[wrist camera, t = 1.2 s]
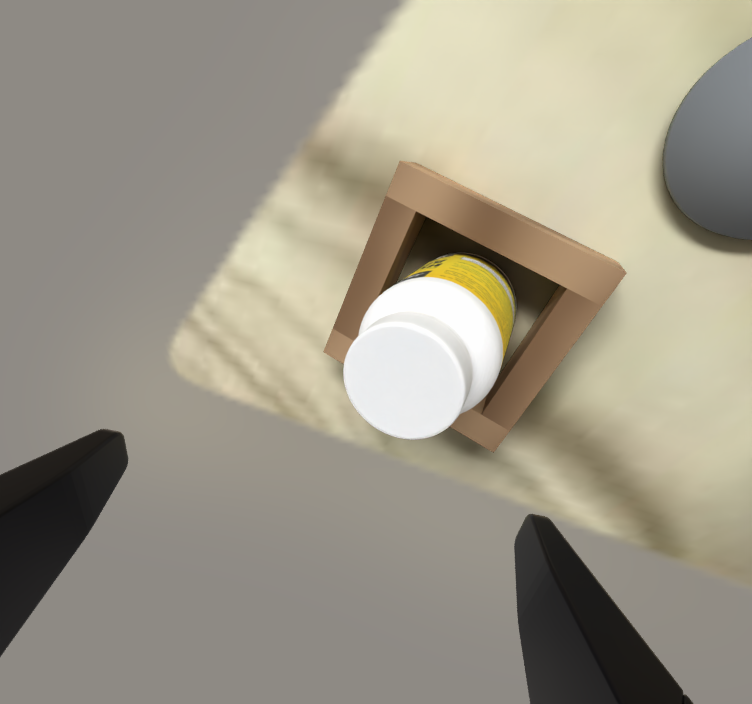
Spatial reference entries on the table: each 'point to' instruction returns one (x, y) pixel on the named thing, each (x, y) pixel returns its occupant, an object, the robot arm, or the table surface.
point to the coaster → (715, 148)
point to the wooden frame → (507, 237)
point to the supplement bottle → (431, 346)
